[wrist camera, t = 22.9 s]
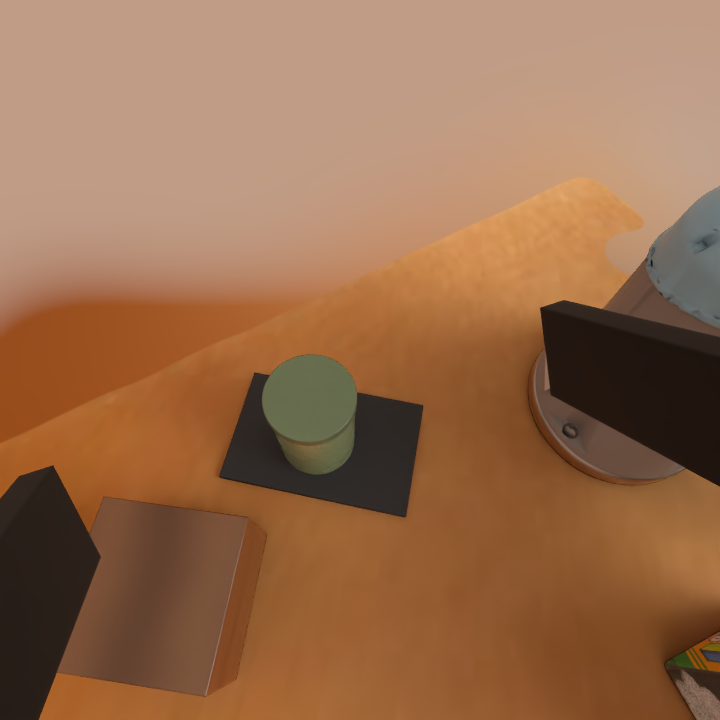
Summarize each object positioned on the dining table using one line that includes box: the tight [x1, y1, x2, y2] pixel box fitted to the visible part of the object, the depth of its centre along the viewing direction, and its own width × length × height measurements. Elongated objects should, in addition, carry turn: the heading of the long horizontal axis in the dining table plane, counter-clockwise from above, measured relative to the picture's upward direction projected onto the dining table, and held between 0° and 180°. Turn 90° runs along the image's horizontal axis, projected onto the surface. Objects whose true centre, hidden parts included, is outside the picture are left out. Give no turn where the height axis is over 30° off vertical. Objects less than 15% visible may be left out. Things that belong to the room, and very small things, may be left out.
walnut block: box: [57, 497, 267, 697], centre depth 34 cm, size 10×10×8 cm
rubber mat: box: [219, 373, 423, 517], centre depth 43 cm, size 16×10×1 cm, turn 78°
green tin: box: [262, 354, 357, 475], centre depth 38 cm, size 7×7×10 cm
